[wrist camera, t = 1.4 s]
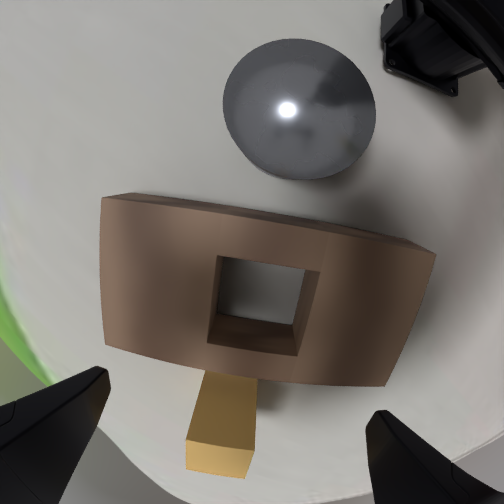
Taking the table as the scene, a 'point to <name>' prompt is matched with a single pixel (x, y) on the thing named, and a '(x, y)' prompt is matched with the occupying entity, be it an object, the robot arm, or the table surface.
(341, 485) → the table surface
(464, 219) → the table surface
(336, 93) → the round peg
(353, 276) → the bore block
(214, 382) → the square peg
